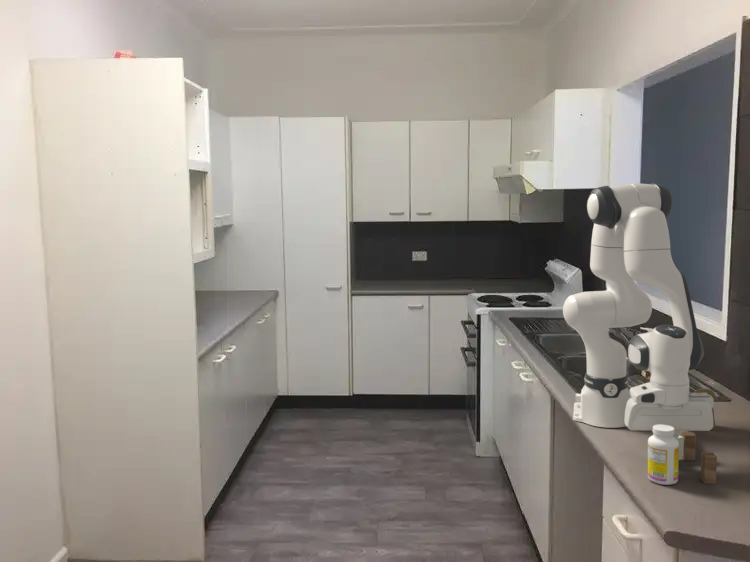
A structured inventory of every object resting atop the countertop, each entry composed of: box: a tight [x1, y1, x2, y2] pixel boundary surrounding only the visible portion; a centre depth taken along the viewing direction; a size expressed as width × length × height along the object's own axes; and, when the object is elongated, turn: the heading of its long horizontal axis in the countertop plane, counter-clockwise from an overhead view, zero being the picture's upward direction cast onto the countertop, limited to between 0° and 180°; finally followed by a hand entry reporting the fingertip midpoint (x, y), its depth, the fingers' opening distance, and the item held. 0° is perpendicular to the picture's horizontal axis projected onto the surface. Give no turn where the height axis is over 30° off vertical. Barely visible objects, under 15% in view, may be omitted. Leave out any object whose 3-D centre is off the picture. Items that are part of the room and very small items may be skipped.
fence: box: [680, 431, 718, 485], centre depth 167 cm, size 28×2×6 cm, turn 173°
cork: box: [695, 388, 716, 431], centre depth 189 cm, size 6×6×11 cm
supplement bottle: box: [647, 424, 680, 486], centre depth 156 cm, size 7×7×13 cm
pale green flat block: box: [646, 435, 684, 459], centre depth 166 cm, size 9×2×6 cm, turn 103°
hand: (667, 446), depth 164 cm, fingers closed
